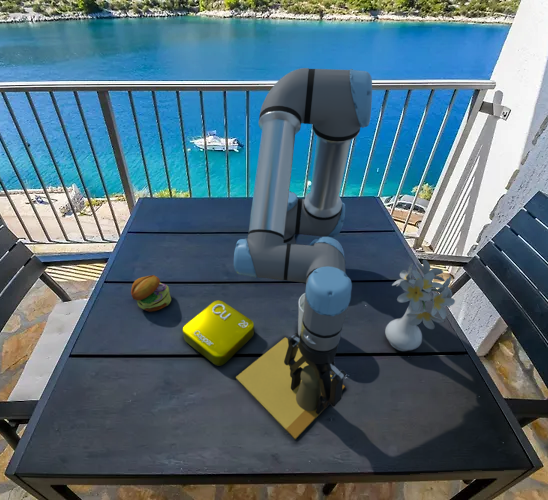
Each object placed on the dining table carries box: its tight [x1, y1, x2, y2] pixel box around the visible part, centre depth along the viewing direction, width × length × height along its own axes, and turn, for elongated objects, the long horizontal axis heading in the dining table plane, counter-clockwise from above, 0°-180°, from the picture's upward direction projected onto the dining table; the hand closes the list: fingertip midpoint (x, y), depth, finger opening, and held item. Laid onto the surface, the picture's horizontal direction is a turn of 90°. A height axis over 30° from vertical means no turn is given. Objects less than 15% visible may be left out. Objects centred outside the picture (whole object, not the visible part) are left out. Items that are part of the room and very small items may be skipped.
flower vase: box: [384, 259, 456, 352], centre depth 87 cm, size 13×18×25 cm
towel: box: [235, 337, 346, 440], centre depth 86 cm, size 18×20×1 cm
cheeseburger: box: [130, 274, 172, 313], centre depth 105 cm, size 10×11×10 cm
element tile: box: [181, 299, 255, 367], centre depth 96 cm, size 15×15×5 cm
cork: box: [296, 365, 321, 411], centre depth 79 cm, size 6×6×11 cm
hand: (307, 397), depth 82 cm, fingers open, 7 cm apart
